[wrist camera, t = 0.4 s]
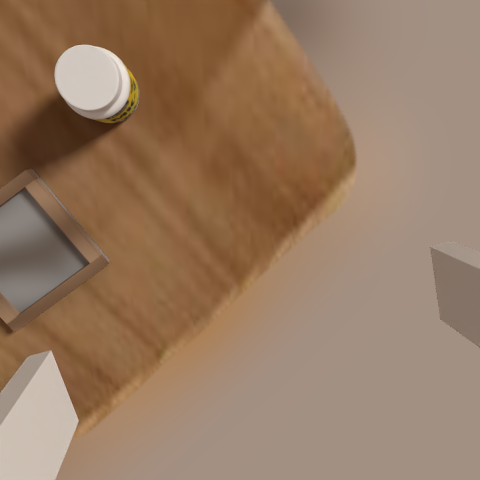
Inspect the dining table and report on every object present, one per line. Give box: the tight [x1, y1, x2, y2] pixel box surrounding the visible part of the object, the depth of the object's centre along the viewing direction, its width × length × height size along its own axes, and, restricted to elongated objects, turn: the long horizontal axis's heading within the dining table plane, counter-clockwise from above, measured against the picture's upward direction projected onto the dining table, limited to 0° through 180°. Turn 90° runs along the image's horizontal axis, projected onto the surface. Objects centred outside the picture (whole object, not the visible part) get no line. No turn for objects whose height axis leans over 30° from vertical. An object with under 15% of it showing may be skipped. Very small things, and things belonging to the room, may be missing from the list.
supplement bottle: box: [55, 45, 139, 123], centre depth 31 cm, size 5×5×8 cm
